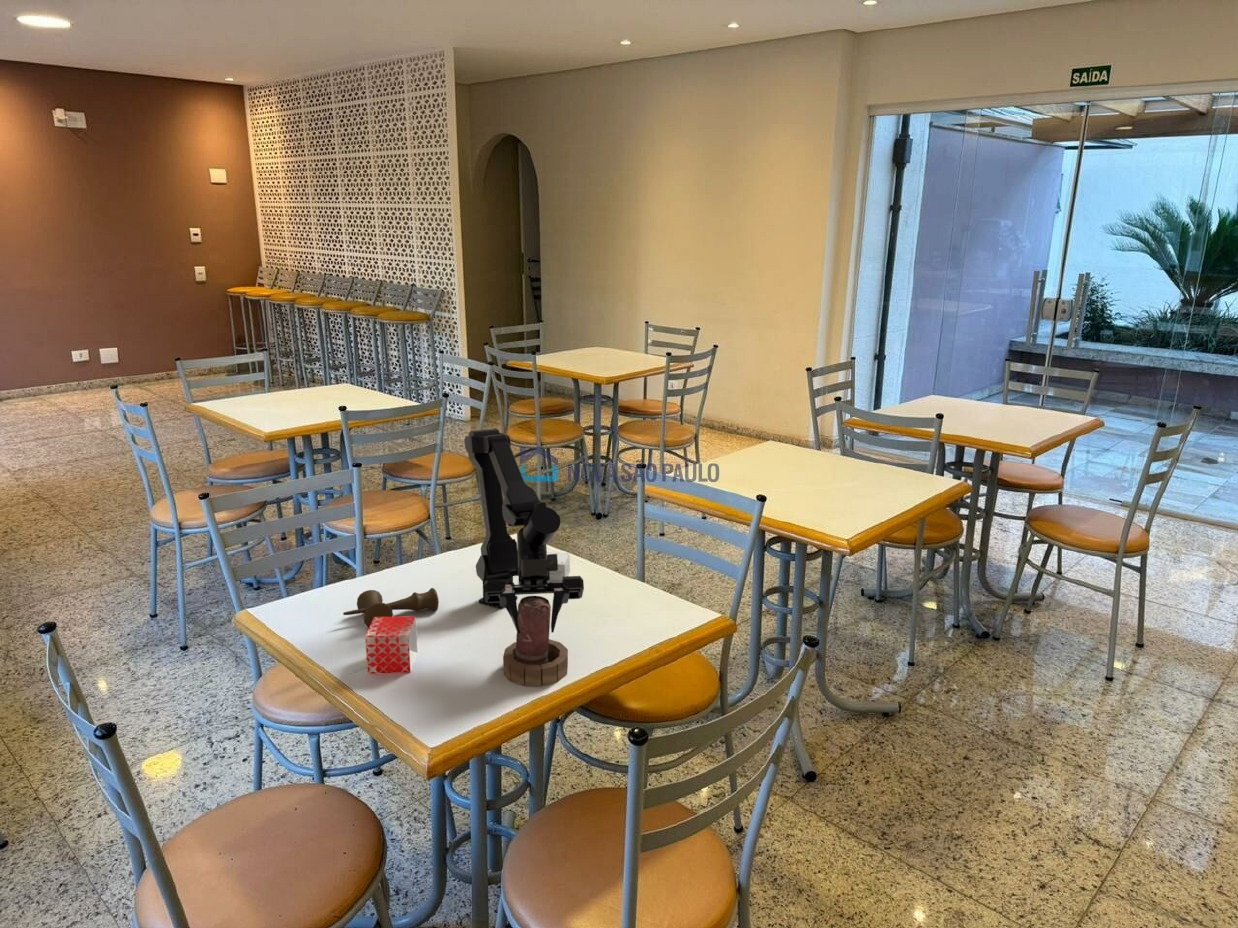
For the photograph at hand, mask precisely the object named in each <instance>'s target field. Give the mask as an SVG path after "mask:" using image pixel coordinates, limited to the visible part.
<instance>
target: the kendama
mask: <svg viewBox="0 0 1238 928" xmlns="http://www.w3.org/2000/svg"><path fill="white" fill-rule="evenodd" d="M383 601H384V599H383V596H382V594H381V593H380V591H377V590H375V589H367V590H364V591H362V593H360V594H359V595H358V597H357V599H356V607H357V609H353V610H348V611H345V612H342V615H343V616H352V615H357V614H358V615H360V614H363V621H364V626H366V627H367V629H369V627H370V625H371V623H372V621H373V619H374V617H394V613H393V611H401V610H402V611H403V610H405V611H407V610H408V611H413V612H415V613H419V612H420V611H422V610H431V611H433V612H437V611H438V609H439V602H440V601H439V595H438V592H437V590H436V588H433V587H431V588H430V589H429V590H428V591H425V592H421V593H418V592H413V593H412V594H411V595H409V596H407V597H405V598H402V599H399V600H395V601H391V602H387V603H385V602H383Z"/></svg>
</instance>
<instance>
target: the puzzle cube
mask: <svg viewBox="0 0 1238 928" xmlns="http://www.w3.org/2000/svg"><path fill="white" fill-rule="evenodd" d="M367 629H368V630H367V631H366V633H365V636H364V638H365V639H364V640H365V651H366V665H367V667H366V669H367V674H368V675H373V674H376V675H377V674H411V672H412V669H413V667H414V664H415V660H416V659H417V658H416V657H417V655H418V640H417V637H418V636H417V619H416V616H410V615H409V616H407V615H406V616H393V617H374V619H373V621H372V623H371V625H370V627H369V628H367Z"/></svg>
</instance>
